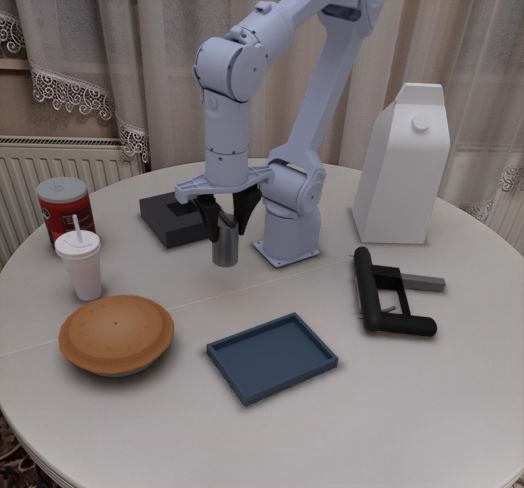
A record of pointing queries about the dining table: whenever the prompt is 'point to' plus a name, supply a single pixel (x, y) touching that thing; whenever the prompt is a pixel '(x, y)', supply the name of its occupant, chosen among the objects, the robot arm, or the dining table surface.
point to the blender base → (173, 219)
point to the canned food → (65, 206)
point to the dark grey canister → (226, 241)
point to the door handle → (393, 279)
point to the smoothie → (81, 261)
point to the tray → (270, 357)
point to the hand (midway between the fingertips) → (225, 235)
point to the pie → (116, 335)
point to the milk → (403, 167)
